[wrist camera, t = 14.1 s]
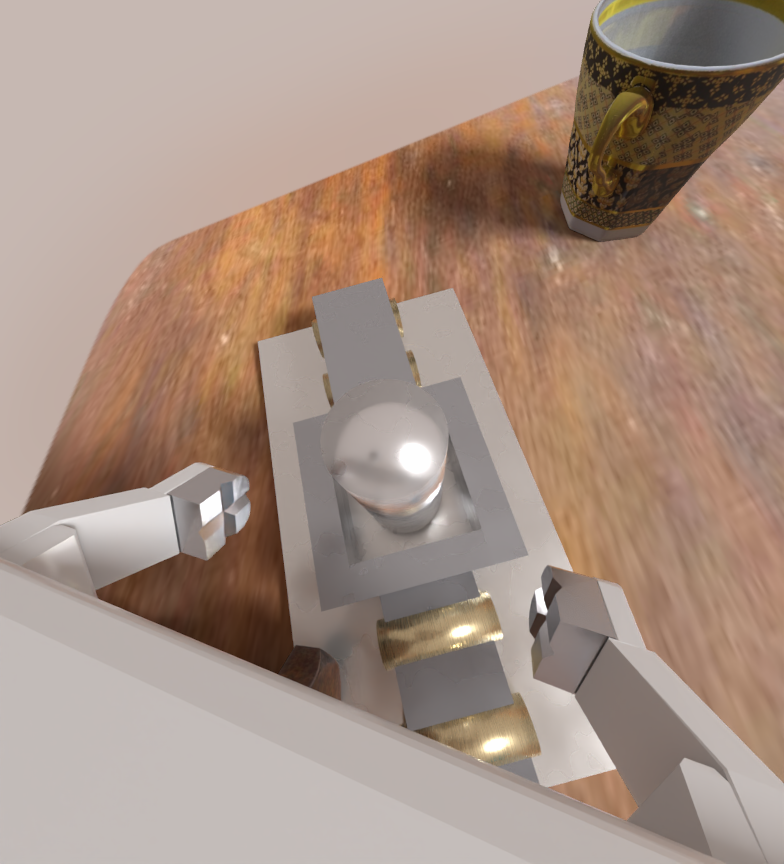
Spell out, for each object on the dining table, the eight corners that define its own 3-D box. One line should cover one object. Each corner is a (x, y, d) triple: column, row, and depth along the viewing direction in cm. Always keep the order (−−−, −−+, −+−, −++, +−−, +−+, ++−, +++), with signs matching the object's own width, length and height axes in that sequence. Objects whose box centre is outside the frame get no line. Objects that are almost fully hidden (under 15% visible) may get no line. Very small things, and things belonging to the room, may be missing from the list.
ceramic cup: (581, 151, 29) (651, -47, 20) (706, 196, 26) (860, -16, 16) (487, 247, 26) (518, 68, 17) (615, 310, 23) (740, 131, 14)
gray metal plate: (321, 839, 15) (289, 916, 11) (261, 346, 25) (235, 311, 21) (644, 751, 15) (706, 804, 11) (452, 294, 25) (455, 251, 21)
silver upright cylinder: (387, 546, 18) (350, 524, 10) (356, 479, 20) (302, 412, 11) (454, 511, 19) (473, 460, 10) (419, 448, 20) (411, 360, 12)
